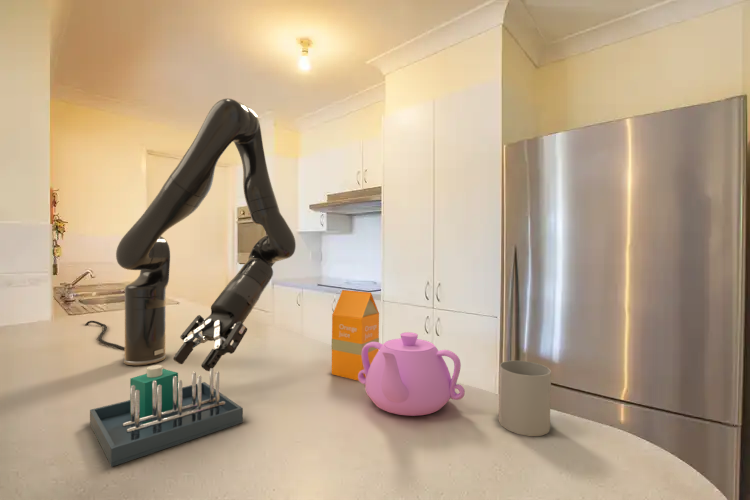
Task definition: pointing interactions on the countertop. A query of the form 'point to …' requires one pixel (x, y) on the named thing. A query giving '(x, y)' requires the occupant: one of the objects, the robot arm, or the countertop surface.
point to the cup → (524, 397)
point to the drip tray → (123, 449)
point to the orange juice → (353, 332)
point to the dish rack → (157, 406)
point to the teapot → (409, 376)
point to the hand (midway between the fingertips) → (190, 365)
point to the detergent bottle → (146, 389)
